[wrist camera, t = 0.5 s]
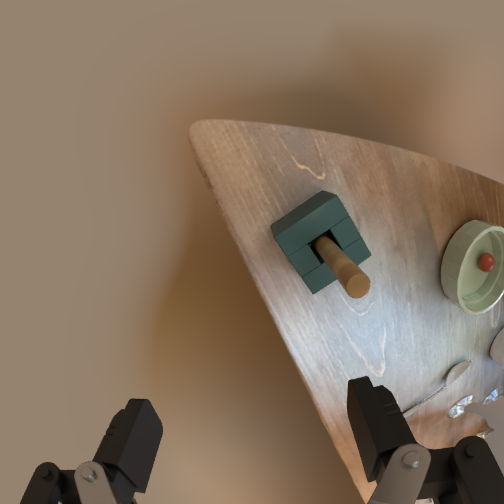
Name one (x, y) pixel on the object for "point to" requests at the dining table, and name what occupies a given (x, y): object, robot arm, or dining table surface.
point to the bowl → (474, 267)
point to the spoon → (451, 377)
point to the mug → (498, 349)
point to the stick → (342, 267)
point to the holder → (310, 227)
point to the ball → (486, 262)
